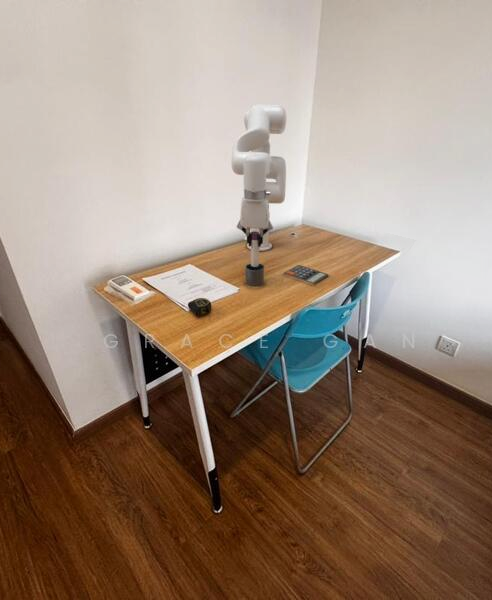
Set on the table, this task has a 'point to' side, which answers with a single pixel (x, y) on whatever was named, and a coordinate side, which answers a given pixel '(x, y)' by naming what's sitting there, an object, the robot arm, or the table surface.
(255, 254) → the glue stick
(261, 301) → the table surface
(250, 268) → the pen cup
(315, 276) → the calculator
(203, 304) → the tape measure
